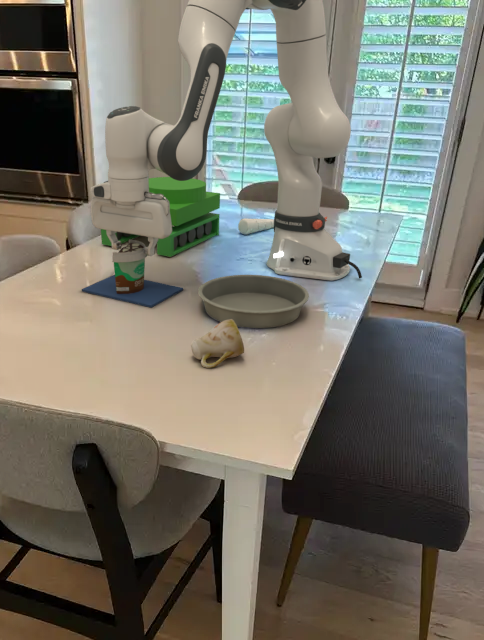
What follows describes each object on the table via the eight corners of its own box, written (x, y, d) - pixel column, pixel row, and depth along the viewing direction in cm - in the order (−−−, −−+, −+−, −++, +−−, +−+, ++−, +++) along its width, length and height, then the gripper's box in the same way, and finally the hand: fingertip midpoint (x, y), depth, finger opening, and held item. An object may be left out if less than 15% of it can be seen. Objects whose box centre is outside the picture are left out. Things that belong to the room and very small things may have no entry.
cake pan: (310, 296, 145) (312, 278, 142) (302, 337, 124) (305, 316, 122) (210, 287, 149) (210, 269, 146) (186, 325, 128) (186, 305, 126)
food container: (139, 298, 139) (138, 255, 134) (114, 295, 140) (111, 252, 135) (155, 281, 150) (154, 240, 144) (131, 279, 151) (129, 238, 145)
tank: (89, 249, 174) (84, 190, 165) (154, 224, 200) (153, 171, 191) (161, 263, 164) (159, 201, 156) (219, 234, 191) (221, 180, 182)
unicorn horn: (298, 225, 203) (299, 210, 201) (247, 236, 190) (247, 220, 188) (288, 222, 206) (289, 207, 204) (236, 233, 193) (237, 217, 191)
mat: (183, 290, 147) (183, 287, 146) (151, 307, 136) (151, 305, 136) (116, 275, 155) (116, 273, 154) (81, 291, 144) (81, 289, 144)
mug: (182, 353, 117) (204, 306, 115) (226, 372, 120) (248, 326, 118) (189, 361, 110) (212, 310, 108) (236, 381, 113) (259, 332, 111)
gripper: (176, 192, 131) (178, 255, 139) (101, 182, 140) (106, 242, 147) (160, 197, 127) (163, 262, 134) (84, 187, 135) (90, 249, 143)
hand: (133, 252), depth 141 cm, fingers open, 8 cm apart
